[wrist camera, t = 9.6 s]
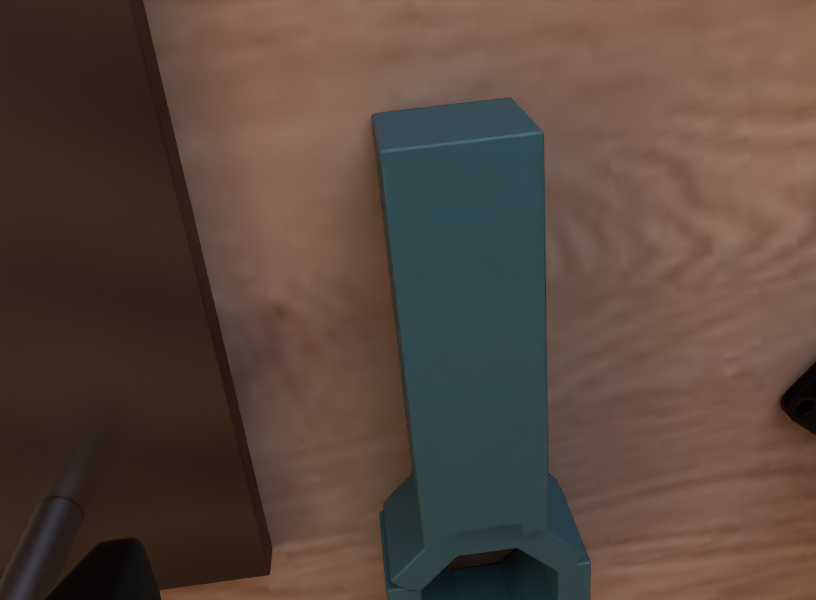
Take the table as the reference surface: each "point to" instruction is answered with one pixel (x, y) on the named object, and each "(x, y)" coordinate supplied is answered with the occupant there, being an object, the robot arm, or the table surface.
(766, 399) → the table surface
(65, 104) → the brown peg board
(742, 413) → the table surface
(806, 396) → the robot arm
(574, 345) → the table surface
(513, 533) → the teal ring spanner
